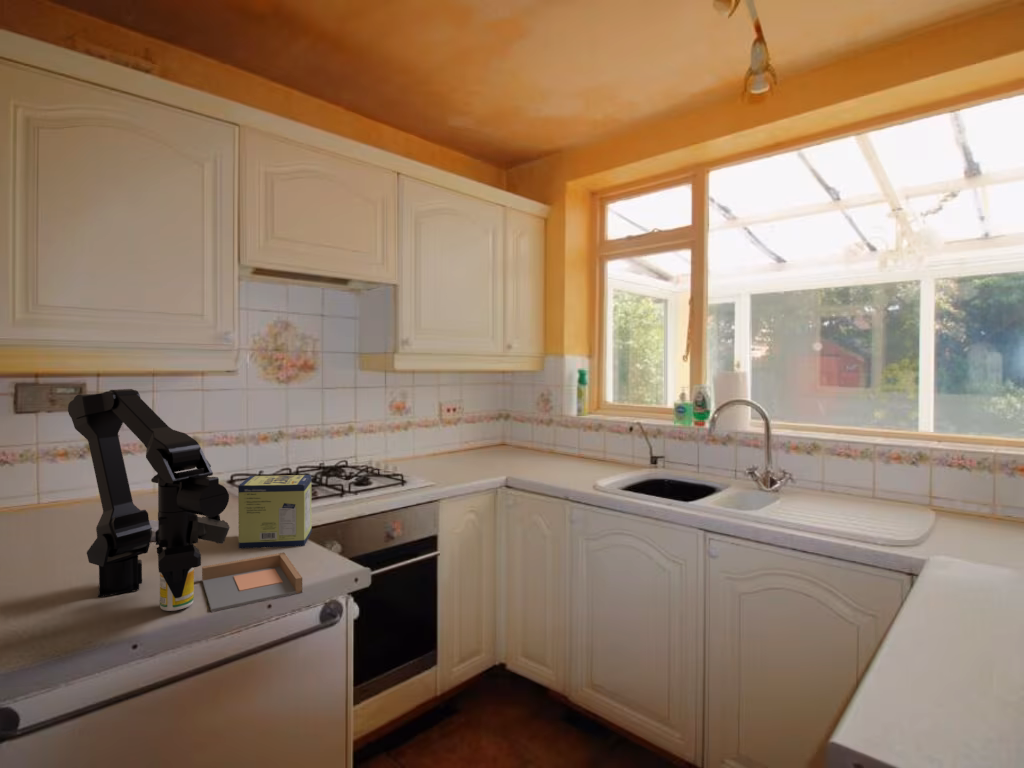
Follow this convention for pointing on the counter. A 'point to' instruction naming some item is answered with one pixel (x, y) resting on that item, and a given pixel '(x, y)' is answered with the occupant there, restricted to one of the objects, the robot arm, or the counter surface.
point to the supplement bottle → (177, 603)
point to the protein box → (274, 511)
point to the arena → (250, 581)
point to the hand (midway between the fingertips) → (177, 591)
